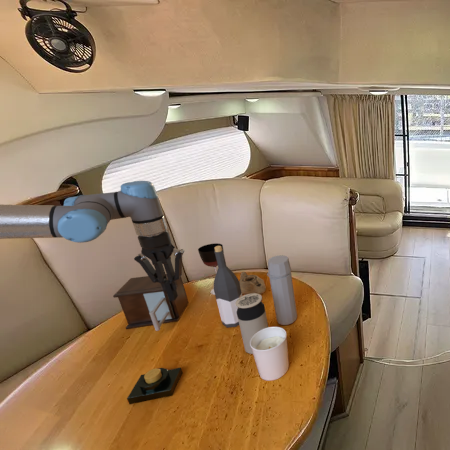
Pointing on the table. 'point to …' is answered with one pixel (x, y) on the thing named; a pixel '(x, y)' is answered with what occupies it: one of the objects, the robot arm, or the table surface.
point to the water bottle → (282, 289)
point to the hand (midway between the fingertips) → (173, 298)
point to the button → (152, 375)
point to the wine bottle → (226, 290)
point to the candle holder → (270, 352)
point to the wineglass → (209, 256)
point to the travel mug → (251, 317)
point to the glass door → (159, 308)
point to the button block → (155, 386)
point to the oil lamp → (251, 284)
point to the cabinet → (137, 305)
